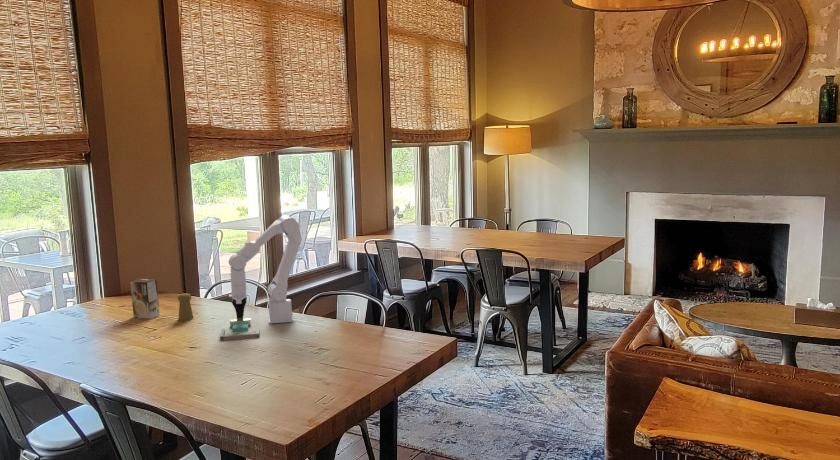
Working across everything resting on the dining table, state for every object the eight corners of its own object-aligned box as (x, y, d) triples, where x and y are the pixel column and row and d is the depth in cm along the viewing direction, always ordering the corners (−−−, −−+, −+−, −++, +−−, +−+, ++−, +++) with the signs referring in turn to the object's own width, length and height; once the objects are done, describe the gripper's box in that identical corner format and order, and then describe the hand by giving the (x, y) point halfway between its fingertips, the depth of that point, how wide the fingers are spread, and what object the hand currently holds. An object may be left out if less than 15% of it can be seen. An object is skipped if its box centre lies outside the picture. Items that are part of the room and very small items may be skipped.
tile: (248, 326, 258) (248, 322, 258) (248, 330, 253) (247, 327, 252) (233, 327, 257) (233, 324, 257) (232, 332, 251) (232, 328, 251)
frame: (259, 329, 254) (259, 325, 253) (259, 337, 244) (259, 333, 244) (221, 332, 250) (221, 328, 250) (220, 340, 240) (220, 336, 240)
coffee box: (160, 315, 276) (157, 279, 273) (150, 319, 270) (147, 282, 267) (143, 313, 278) (140, 277, 276) (132, 317, 272) (129, 281, 270)
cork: (190, 320, 266) (188, 295, 265) (176, 321, 266) (174, 295, 265) (195, 316, 272) (193, 291, 271) (181, 316, 272) (179, 292, 271)
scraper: (250, 323, 261) (249, 305, 259) (250, 325, 258) (249, 307, 257) (230, 325, 259) (229, 306, 257) (230, 327, 257) (228, 308, 255)
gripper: (229, 280, 262) (231, 312, 264) (227, 289, 248) (229, 322, 250) (246, 279, 263) (248, 311, 266) (245, 287, 250) (247, 321, 252)
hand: (240, 316), depth 258 cm, fingers closed on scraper, 2 cm apart
